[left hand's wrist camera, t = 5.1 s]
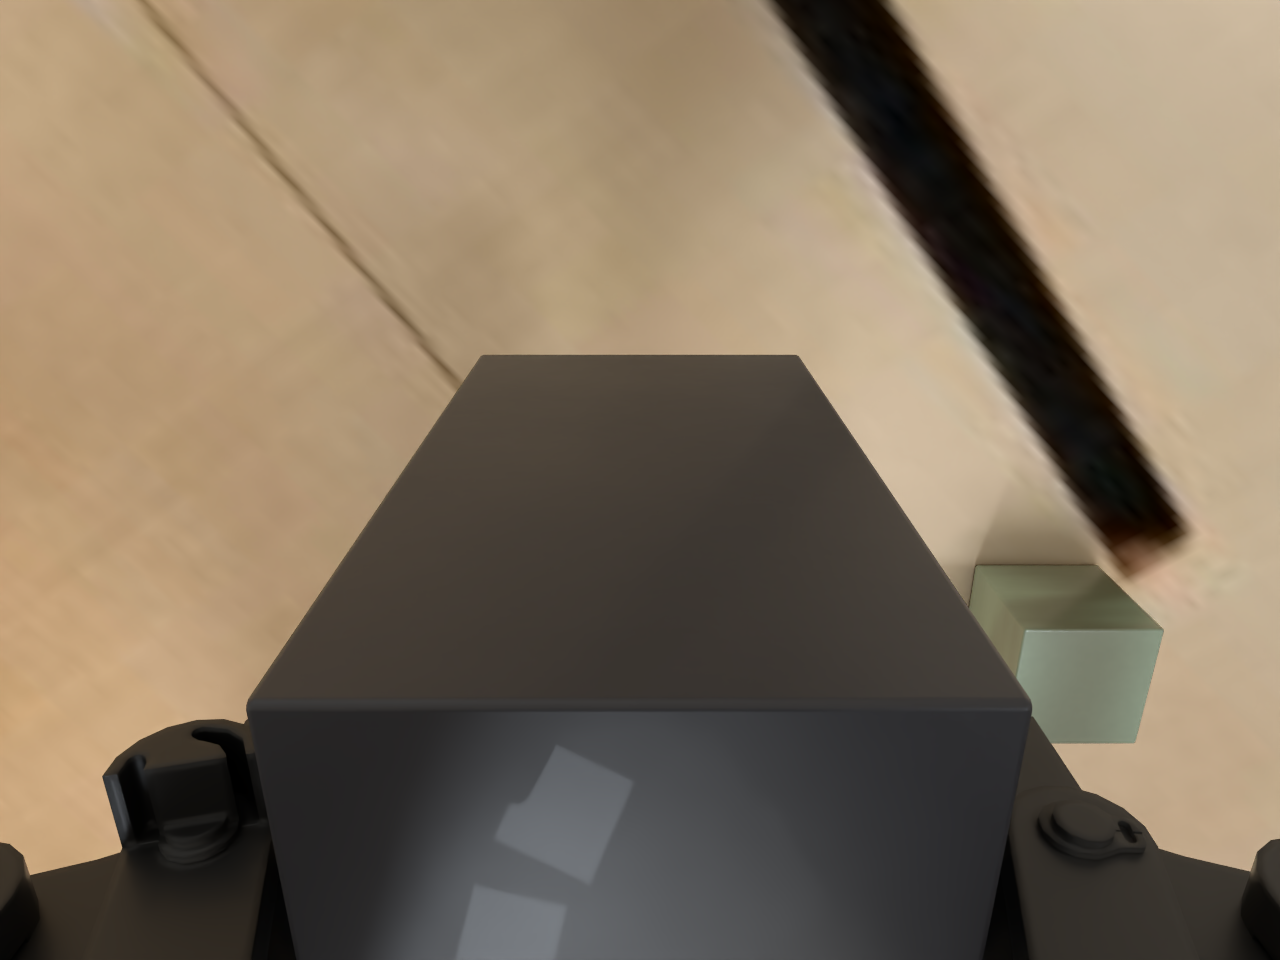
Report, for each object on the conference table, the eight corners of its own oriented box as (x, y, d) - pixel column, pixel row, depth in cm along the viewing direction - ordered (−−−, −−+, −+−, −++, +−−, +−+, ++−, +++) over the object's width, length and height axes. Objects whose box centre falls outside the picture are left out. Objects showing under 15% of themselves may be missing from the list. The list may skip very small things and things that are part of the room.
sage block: (1097, 564, 29) (1165, 629, 25) (1075, 668, 30) (1135, 744, 27) (974, 564, 29) (1024, 629, 25) (958, 668, 30) (1003, 744, 27)
